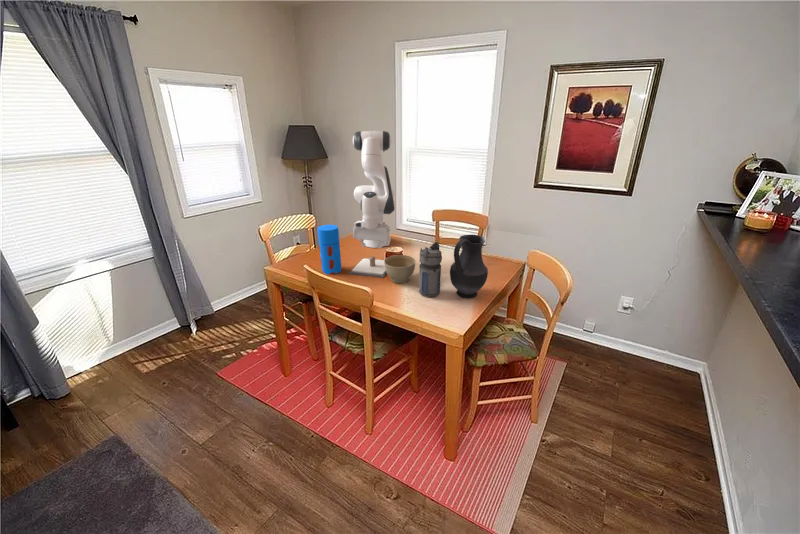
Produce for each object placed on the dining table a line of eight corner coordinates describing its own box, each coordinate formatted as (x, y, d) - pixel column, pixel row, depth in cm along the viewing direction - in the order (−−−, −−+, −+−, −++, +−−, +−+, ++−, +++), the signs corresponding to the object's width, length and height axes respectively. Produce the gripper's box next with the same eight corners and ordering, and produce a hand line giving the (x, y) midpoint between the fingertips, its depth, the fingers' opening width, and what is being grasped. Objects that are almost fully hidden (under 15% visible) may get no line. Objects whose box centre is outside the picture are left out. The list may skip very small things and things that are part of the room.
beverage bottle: (445, 289, 171) (447, 241, 161) (433, 300, 161) (435, 250, 151) (427, 284, 176) (428, 238, 166) (414, 295, 166) (415, 246, 155)
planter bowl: (378, 282, 178) (378, 263, 174) (393, 271, 191) (393, 252, 187) (406, 289, 172) (406, 269, 167) (420, 276, 185) (420, 258, 180)
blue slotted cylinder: (322, 275, 187) (317, 231, 177) (321, 267, 196) (316, 225, 186) (342, 273, 190) (339, 229, 179) (340, 265, 199) (337, 223, 189)
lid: (363, 259, 206) (363, 250, 203) (392, 262, 201) (392, 253, 199) (351, 271, 190) (351, 261, 187) (383, 275, 185) (382, 265, 183)
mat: (363, 258, 208) (363, 258, 208) (395, 262, 203) (395, 261, 203) (348, 273, 188) (348, 272, 188) (383, 277, 184) (383, 276, 183)
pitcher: (491, 293, 167) (498, 234, 155) (468, 310, 153) (474, 246, 141) (461, 282, 178) (465, 226, 165) (437, 297, 164) (439, 237, 151)
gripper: (391, 222, 185) (391, 247, 190) (355, 220, 190) (356, 244, 195) (387, 226, 180) (388, 251, 185) (351, 223, 185) (352, 247, 190)
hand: (371, 247), depth 190 cm, fingers open, 8 cm apart
